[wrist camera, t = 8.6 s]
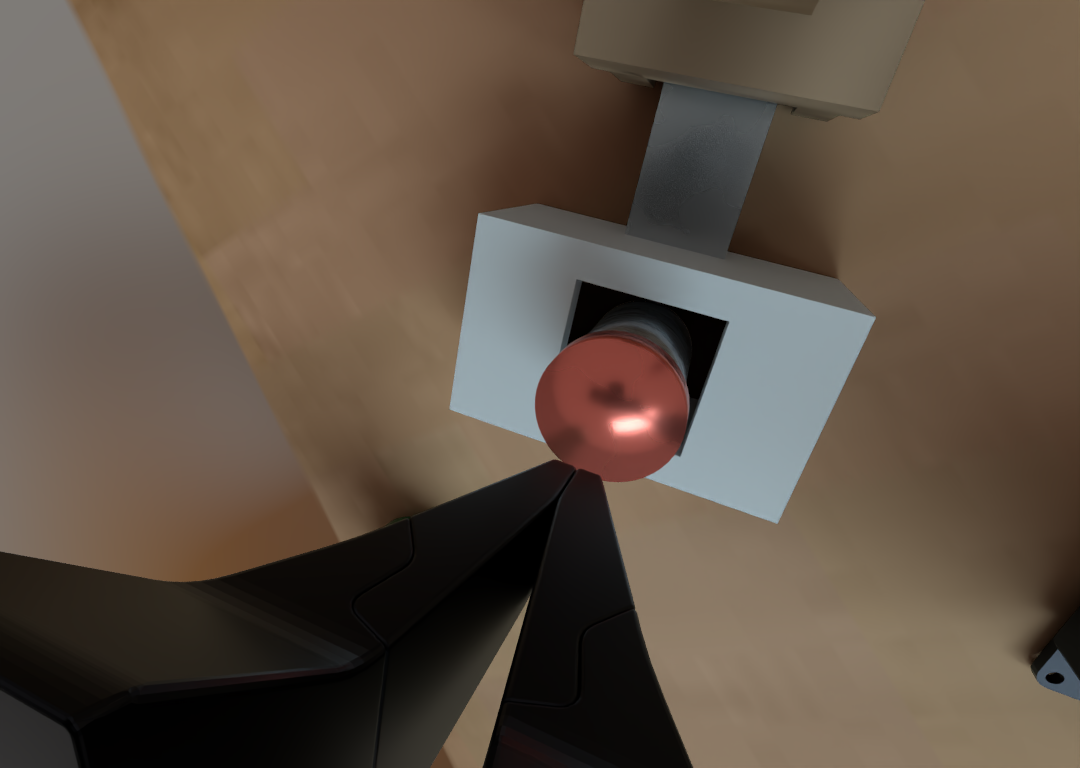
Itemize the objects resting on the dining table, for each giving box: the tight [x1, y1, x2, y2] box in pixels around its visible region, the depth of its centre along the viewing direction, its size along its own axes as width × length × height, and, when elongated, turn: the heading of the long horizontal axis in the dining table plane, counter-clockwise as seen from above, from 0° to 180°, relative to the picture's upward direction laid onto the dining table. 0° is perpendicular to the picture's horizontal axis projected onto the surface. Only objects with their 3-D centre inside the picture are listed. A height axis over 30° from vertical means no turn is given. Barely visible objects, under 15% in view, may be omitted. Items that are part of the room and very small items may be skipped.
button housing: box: [450, 203, 876, 523], centre depth 17 cm, size 10×6×5 cm, turn 78°
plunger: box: [535, 300, 692, 482], centre depth 14 cm, size 3×3×5 cm
